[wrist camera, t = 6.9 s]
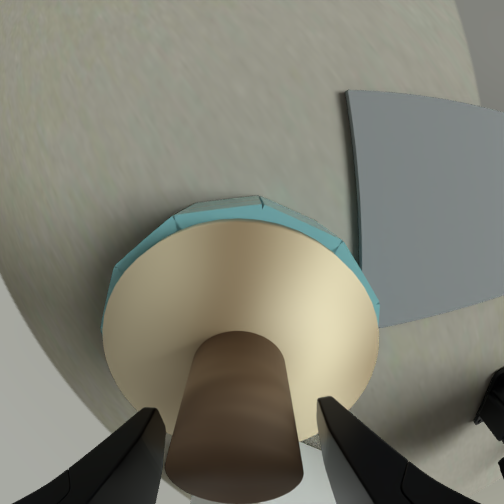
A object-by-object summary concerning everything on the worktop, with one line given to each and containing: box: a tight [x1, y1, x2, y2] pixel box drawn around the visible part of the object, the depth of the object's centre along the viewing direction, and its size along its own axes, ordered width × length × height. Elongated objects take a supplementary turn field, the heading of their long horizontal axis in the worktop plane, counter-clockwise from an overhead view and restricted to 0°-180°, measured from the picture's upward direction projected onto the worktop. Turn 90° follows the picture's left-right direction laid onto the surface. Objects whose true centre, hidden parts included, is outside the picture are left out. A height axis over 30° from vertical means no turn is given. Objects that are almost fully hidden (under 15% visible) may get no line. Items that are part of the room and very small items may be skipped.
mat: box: [345, 90, 504, 328], centre depth 13 cm, size 12×12×1 cm
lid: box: [102, 218, 379, 504], centre depth 8 cm, size 10×10×6 cm
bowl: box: [100, 195, 380, 336], centre depth 12 cm, size 11×11×4 cm
